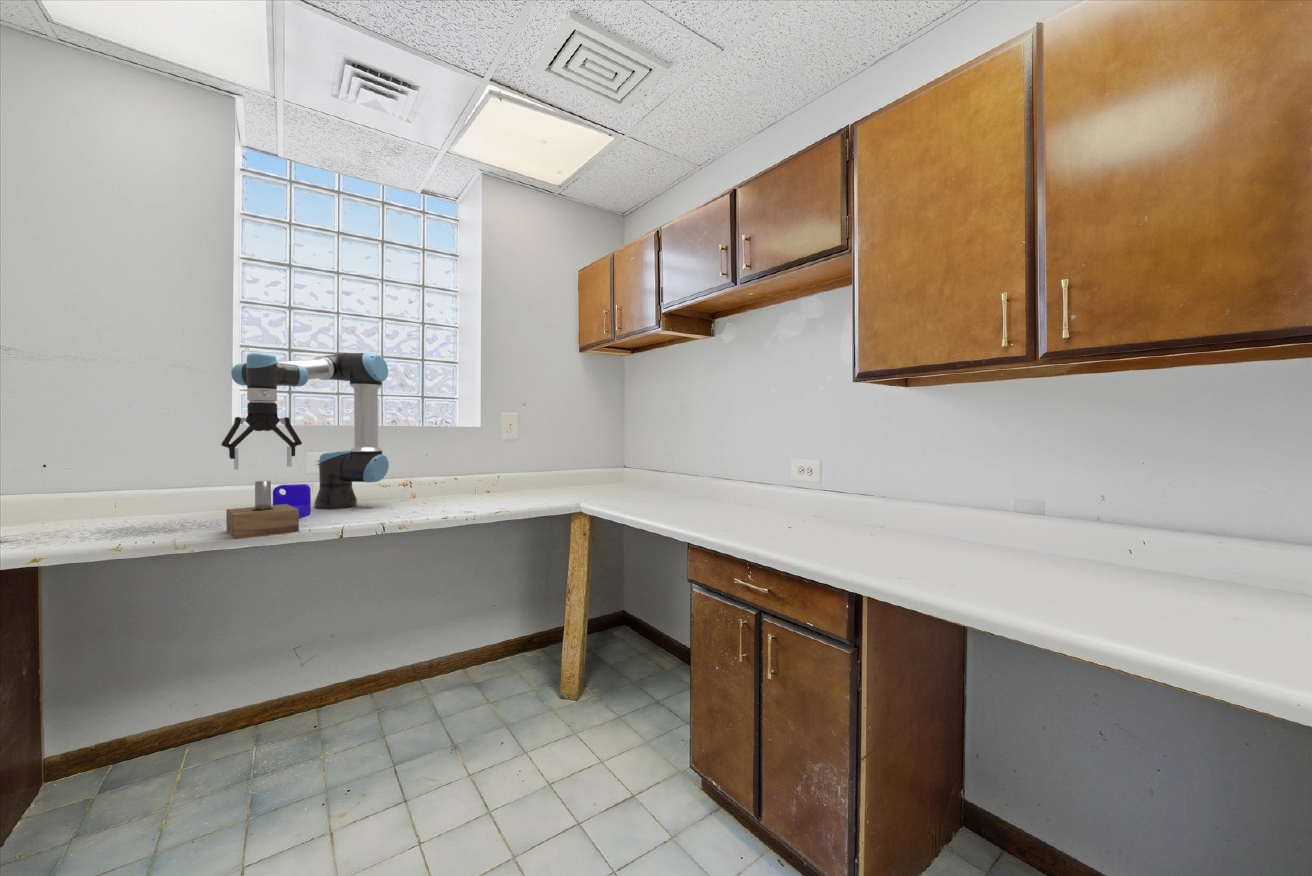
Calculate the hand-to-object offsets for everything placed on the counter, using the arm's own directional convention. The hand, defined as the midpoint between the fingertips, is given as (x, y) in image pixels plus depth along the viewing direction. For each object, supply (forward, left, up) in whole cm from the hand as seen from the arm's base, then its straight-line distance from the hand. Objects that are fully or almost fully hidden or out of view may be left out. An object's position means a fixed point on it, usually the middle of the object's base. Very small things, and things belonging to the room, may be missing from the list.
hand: (263, 468), depth 159 cm
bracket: (-20, +10, -21) cm, 30 cm away
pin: (0, 0, -18) cm, 18 cm away
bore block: (0, 0, -20) cm, 20 cm away
